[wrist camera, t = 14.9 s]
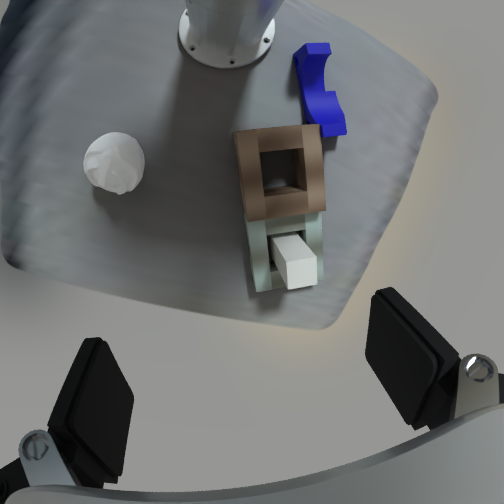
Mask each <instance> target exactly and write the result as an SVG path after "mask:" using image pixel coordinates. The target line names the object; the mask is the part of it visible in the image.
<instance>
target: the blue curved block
mask: <svg viewBox="0 0 504 504" xmlns="http://www.w3.org/2000/svg"><path fill="white" fill-rule="evenodd" d="M330 54H332V53H331V49H330V45H329V43H306V44H305V45H303V46H302V47H301V48H300V49H299V50H298V51H296V52H295V53H294V54H293V57H294V62H295V66H296V71H297V76H298V81H299V86H300V91H301V96H302V101H303V106H304V112H305V117H306V123H307V125H309V124H320V134H321V137H331V136H339V135H346V133H347V130H346V123H345V117H344V113H343V111H342V110H341V108H340V105H339V103H338V100H337V96H336V92H335V91H327V92H325V87H324V67H325V63H326V60H327V58H328V57H329V55H330Z"/></svg>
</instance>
